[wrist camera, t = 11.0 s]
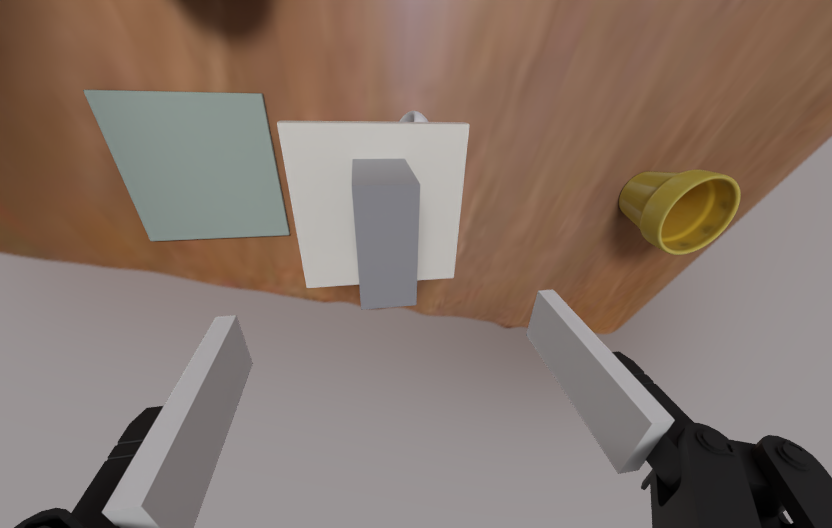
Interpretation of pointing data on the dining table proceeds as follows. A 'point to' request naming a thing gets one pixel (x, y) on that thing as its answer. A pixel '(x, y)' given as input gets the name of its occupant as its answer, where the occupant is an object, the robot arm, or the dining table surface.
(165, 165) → the mat
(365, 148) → the lid
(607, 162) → the dining table surface
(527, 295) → the dining table surface
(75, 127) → the dining table surface
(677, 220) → the plant pot
